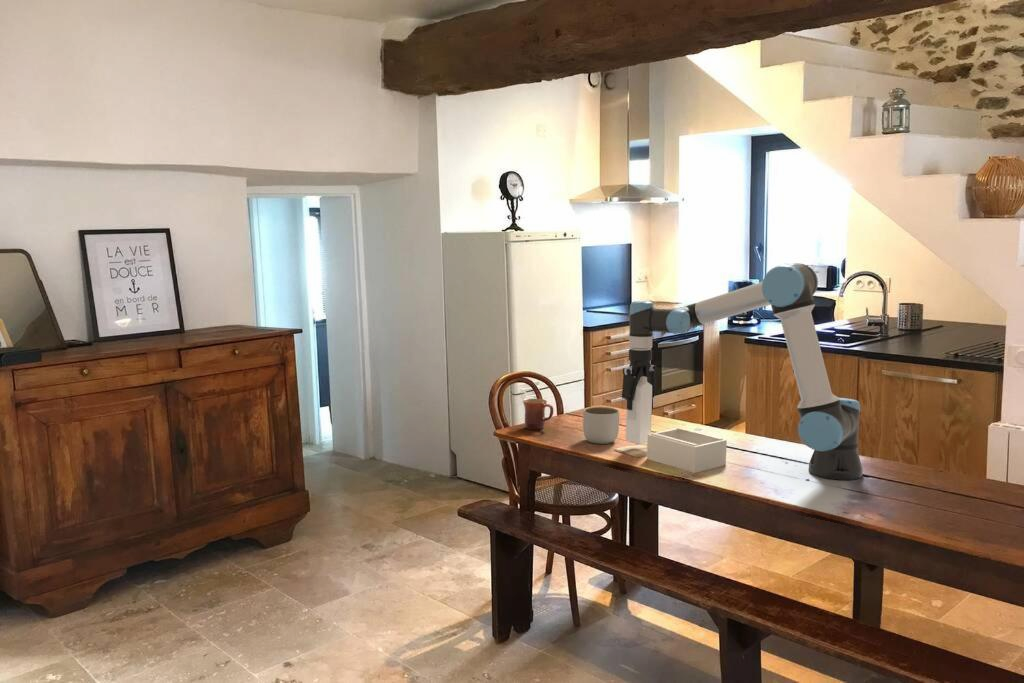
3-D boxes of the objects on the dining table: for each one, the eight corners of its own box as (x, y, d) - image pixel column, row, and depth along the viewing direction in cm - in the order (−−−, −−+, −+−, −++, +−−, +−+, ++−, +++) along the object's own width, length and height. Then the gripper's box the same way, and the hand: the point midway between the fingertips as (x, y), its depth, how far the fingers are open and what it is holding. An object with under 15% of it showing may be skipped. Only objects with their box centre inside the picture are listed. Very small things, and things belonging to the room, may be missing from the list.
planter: (618, 446, 280) (618, 415, 278) (581, 445, 282) (581, 413, 280) (619, 437, 292) (620, 407, 291) (584, 436, 294) (584, 406, 292)
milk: (636, 438, 278) (638, 373, 275) (651, 441, 273) (653, 375, 271) (625, 441, 274) (626, 375, 271) (639, 444, 269) (641, 377, 266)
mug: (518, 429, 305) (518, 401, 303) (530, 424, 312) (530, 397, 311) (546, 433, 298) (546, 405, 297) (558, 428, 306) (558, 401, 304)
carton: (725, 465, 258) (726, 438, 257) (694, 473, 249) (695, 445, 248) (678, 451, 274) (678, 426, 272) (646, 458, 265) (647, 433, 264)
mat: (661, 452, 273) (662, 450, 273) (638, 457, 266) (638, 455, 266) (637, 445, 282) (637, 443, 281) (614, 450, 275) (614, 448, 275)
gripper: (652, 345, 278) (650, 412, 281) (610, 349, 267) (609, 419, 270) (669, 347, 272) (667, 416, 275) (627, 352, 261) (625, 424, 264)
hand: (638, 417), depth 272 cm, fingers closed on milk, 6 cm apart
